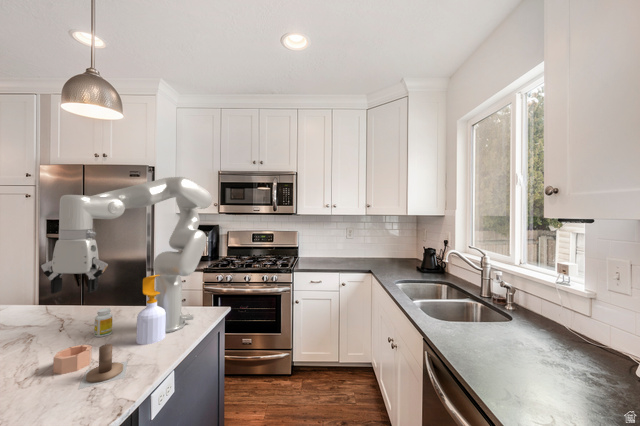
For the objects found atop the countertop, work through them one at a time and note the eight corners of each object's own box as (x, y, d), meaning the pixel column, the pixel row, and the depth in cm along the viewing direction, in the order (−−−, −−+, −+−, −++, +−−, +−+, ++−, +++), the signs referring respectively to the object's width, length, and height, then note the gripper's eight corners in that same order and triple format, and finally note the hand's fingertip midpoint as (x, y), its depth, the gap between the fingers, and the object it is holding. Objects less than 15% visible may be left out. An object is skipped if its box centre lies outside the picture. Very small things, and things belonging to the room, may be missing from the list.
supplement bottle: (90, 337, 101) (91, 312, 101) (101, 331, 106) (101, 307, 106) (105, 337, 101) (106, 312, 101) (115, 331, 107) (115, 307, 107)
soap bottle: (144, 348, 93) (145, 278, 93) (131, 341, 98) (133, 275, 98) (169, 338, 101) (171, 274, 101) (157, 332, 106) (158, 271, 106)
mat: (127, 362, 84) (127, 360, 84) (124, 379, 76) (124, 377, 76) (86, 372, 79) (86, 370, 79) (78, 391, 70) (78, 389, 70)
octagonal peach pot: (92, 358, 87) (93, 342, 87) (87, 370, 80) (87, 353, 80) (59, 365, 82) (59, 348, 83) (50, 378, 76) (50, 361, 76)
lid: (124, 362, 83) (125, 337, 83) (121, 377, 76) (122, 349, 76) (89, 370, 79) (90, 343, 79) (82, 386, 72) (83, 356, 72)
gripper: (115, 234, 86) (113, 287, 85) (54, 234, 83) (52, 289, 83) (99, 236, 78) (98, 294, 78) (32, 236, 76) (30, 296, 75)
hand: (74, 291), depth 80 cm, fingers open, 9 cm apart
